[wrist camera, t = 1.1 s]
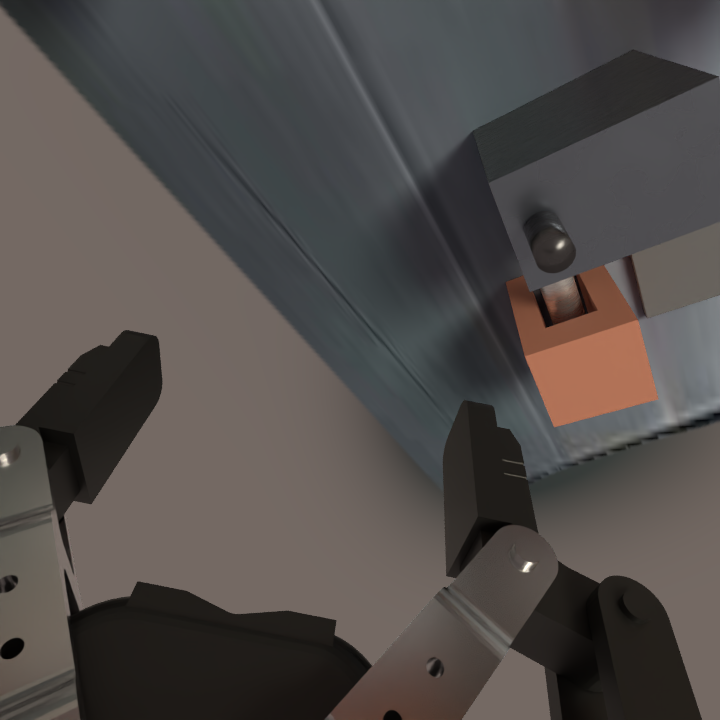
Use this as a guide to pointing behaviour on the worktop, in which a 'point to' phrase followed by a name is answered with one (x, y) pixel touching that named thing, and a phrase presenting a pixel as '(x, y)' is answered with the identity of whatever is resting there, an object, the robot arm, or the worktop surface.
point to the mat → (679, 271)
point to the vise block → (604, 170)
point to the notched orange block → (585, 351)
